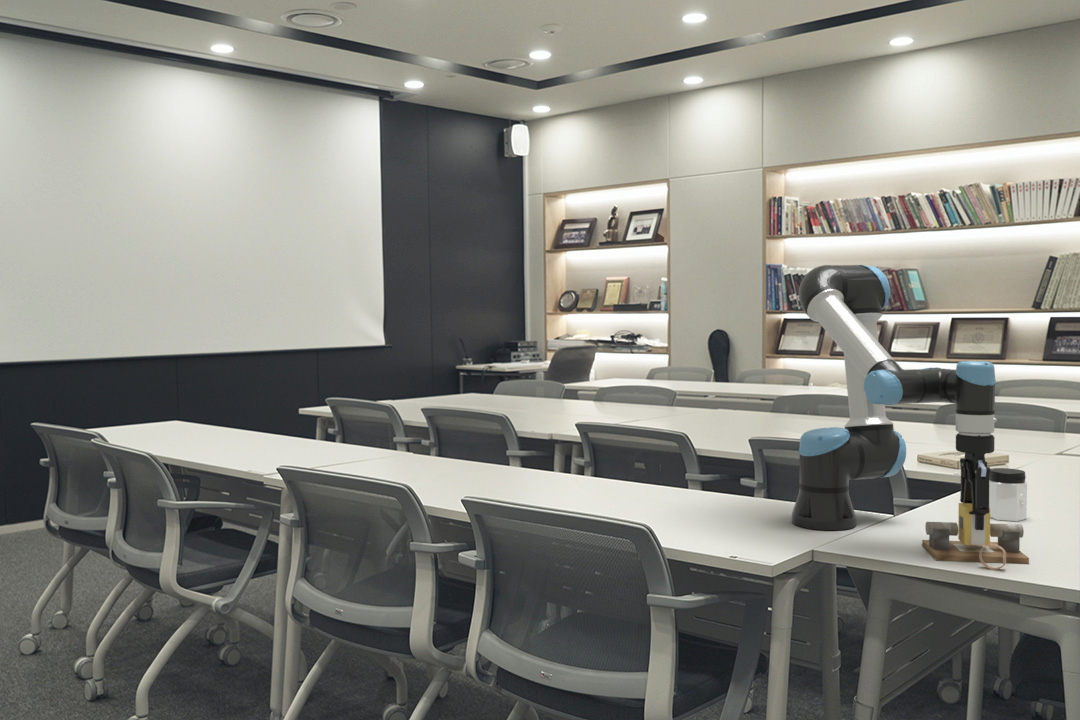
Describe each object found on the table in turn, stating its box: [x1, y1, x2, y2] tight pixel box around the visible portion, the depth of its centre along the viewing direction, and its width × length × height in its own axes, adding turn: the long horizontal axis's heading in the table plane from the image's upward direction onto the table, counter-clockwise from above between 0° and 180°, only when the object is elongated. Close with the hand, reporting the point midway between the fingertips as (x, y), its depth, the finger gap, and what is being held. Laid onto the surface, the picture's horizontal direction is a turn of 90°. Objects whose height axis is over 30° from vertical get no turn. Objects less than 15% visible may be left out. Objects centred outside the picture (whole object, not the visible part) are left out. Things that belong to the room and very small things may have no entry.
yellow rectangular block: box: [957, 502, 991, 546], centre depth 198 cm, size 5×5×8 cm
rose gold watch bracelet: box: [979, 544, 1007, 571], centre depth 187 cm, size 3×5×5 cm, turn 55°
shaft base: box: [921, 521, 1030, 564], centre depth 198 cm, size 19×13×7 cm
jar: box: [989, 467, 1028, 523], centre depth 232 cm, size 9×8×12 cm
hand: (974, 540), depth 198 cm, fingers closed on yellow rectangular block, 5 cm apart
